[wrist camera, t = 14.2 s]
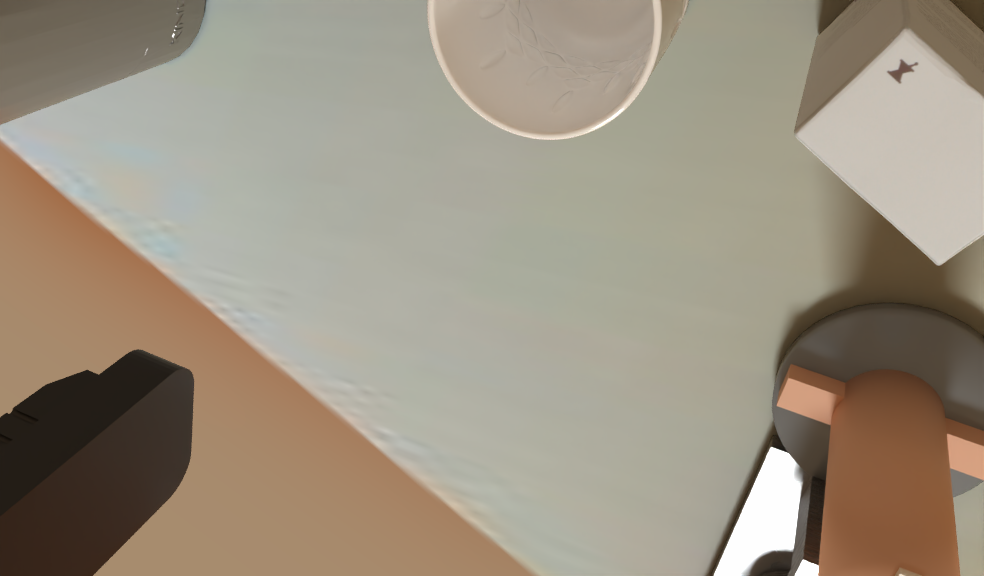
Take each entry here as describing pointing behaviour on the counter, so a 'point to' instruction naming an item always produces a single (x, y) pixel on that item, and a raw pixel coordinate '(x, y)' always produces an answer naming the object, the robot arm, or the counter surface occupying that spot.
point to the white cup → (551, 58)
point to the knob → (886, 471)
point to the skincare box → (903, 116)
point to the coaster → (885, 345)
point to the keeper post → (776, 521)
